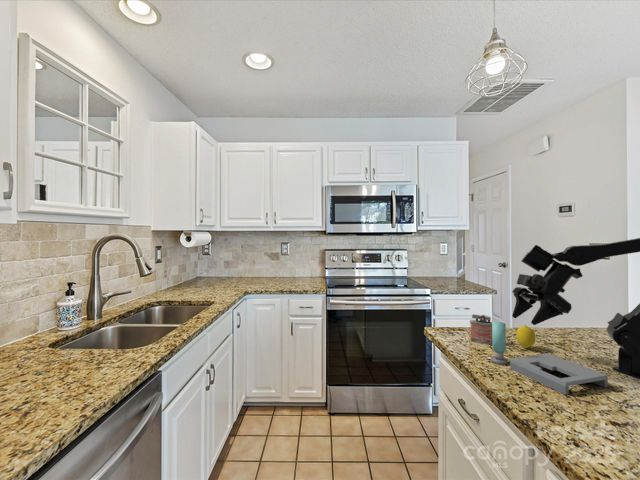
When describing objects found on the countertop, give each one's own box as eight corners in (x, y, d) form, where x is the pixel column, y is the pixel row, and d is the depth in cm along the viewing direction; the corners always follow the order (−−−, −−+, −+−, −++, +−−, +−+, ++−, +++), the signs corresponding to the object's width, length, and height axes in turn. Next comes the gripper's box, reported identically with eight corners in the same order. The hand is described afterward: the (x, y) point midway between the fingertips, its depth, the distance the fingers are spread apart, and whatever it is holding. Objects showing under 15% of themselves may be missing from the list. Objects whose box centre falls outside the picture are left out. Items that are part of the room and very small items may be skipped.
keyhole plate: (547, 363, 95) (547, 353, 95) (607, 386, 80) (607, 375, 80) (510, 368, 92) (510, 358, 92) (565, 394, 76) (565, 382, 76)
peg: (499, 358, 99) (498, 321, 99) (511, 364, 95) (510, 324, 95) (487, 360, 98) (487, 322, 98) (499, 365, 94) (498, 325, 94)
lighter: (495, 342, 115) (494, 315, 115) (494, 345, 112) (493, 317, 112) (470, 339, 119) (470, 312, 119) (469, 341, 116) (469, 314, 116)
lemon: (517, 344, 112) (517, 322, 112) (536, 347, 108) (536, 324, 108) (515, 349, 108) (514, 325, 108) (534, 352, 104) (534, 328, 104)
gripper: (514, 263, 106) (485, 299, 105) (555, 265, 87) (520, 309, 87) (541, 283, 105) (512, 320, 105) (587, 290, 86) (552, 335, 86)
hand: (522, 320), depth 96 cm, fingers open, 9 cm apart
